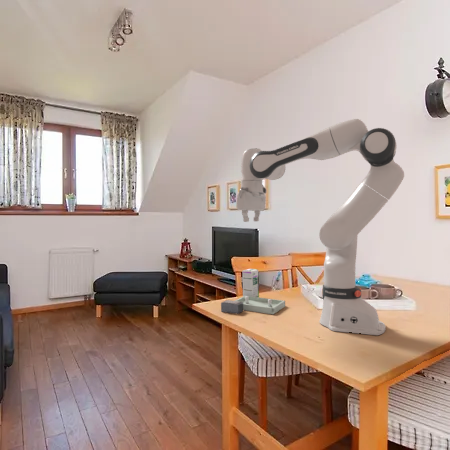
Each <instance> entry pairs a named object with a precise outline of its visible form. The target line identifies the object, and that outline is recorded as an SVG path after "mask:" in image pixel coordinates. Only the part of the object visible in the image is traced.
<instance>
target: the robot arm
mask: <svg viewBox="0 0 450 450" xmlns="http://www.w3.org/2000/svg"><path fill="white" fill-rule="evenodd" d="M354 151H357V152H359V153H360V154H361V156H362V158H364V160H365V161H366V162H367V163H369V164H370V168H369V171H368V173H367V175H365V177H364V178H363V179H362V180H361V181H360V183H359V184H358V186H357V187H356V188H355V189H354V191H353V192H352V193H351V194H350V195H349V196H348V197H347V199H345V201H344V202H343V203H342V204H341V205H340V206H339V207H338V208H337V209H336V210H335V211H334V213H332V215H331V216H330V217H329V218H328V219H327V220H326V221H325V223H323V224H322V226H321V227H320V230H319V239H320V242H321V243H322V244H323V246H324V247H326V251H325V258H324V262H323V285H322V287H321V288H322V300H323V301H322V308H321V314H320V318H319V320H318V321H319V323H320V325H322V326H324V327H326V328H328V329H329V330H330V331H333V332H341V333H349V332H352V333H351V334H359V333H361V335H369V336H370V335H371V336H379V335H382V334H384V333H385V332H386V329H387V326H386V324H385V323H384V322H383V321H381V320H380V319H379V313H378V311H377V310H376V308H375V307H374V306H373V305H372V304H370V303H369V302H367V301H366V300H365V298H364V299H363V298H362V288H361V287H360V288H359V287H358V286H356V263H357V262H356V261H357V250H358V235H359V234H360V232H362V231H363V230H364V229H365V227H367V226H368V224H369V223H370V222H371V221H372V220H373V219H374V218H375V217H376V216H377V214H379V212H380V211H381V210H382V208H383V207H384V206H385V205H386V203H388V202H389V200H390V199H391V198H392V196H393V195H394V194H395V193H396V191H397V190H398V189H399V187H400V185H401V184H402V182H403V180H404V178H405V172H404V170H403V168H402V166H400V165H399V164H398V163H396V162H395V161H394V158H395V155H396V152H397V141H396V137H395V135H394V134H393V133H392V132H391V131H390V130H388V129H386V128H384V127H383V128H382V127H376V128H373V129H372V128H371V129H370V130H368V128H367V126H366V123H365V122H363V121H362V119H359V118H353V119H348V120H344V121H342V122H339V123H336V124H333V125H331V126H329V127H327V128H325V129H323V130H320V131H318V132H316V133H314V134H312V135H310V136H307V137H305V138H303V139H301V140H297V141H295V142H293V143H290V144H287V145H284V146H282V147H279V148H276V149H273V150H261V148H249V149H246V150H245V151H244V152H243V153H242V157H241V165H240V167H241V168H240V170H241V171H240V172H241V179H240V189H239V190H238V193H237V196H236V209H237V211H241V214H242V220H243V222H245V223H249V221H250V217H249V211H254V216H253V222H259V221H260V219H259V218H260V215H261V211H262V212H263V211H265V209H266V202H267V201H266V194H267V188H266V187H265V186H264V185H263V179H265V180H270V181H276V180H279V179H281V178H282V177H283V176H284V174H285V172H286V165H288V164H291V163H293V162H296V161H300V160H304V159H309V160H310V159H311V160H318V161H325V160H330V159H334V158H336V157H340V156H342V155H344V154H347V153H350V152H354Z"/></svg>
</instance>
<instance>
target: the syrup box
mask: <svg viewBox="0 0 450 450" xmlns="http://www.w3.org/2000/svg"><path fill="white" fill-rule="evenodd" d="M241 274H242V297H244V296H252V297H260V290H259V289H260V287H259V286H260V285H259V269H256V268H248V269H244V270H242V273H241Z"/></svg>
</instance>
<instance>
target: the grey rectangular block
mask: <svg viewBox="0 0 450 450" xmlns="http://www.w3.org/2000/svg"><path fill="white" fill-rule="evenodd" d="M220 312H222V313H226V314H227V313H229V314H234V315H239V314H241V313H243V312H244V310H243V302H239V301H235V300H230V299H226V300H223V301H222V302H221V303H220Z"/></svg>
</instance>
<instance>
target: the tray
mask: <svg viewBox="0 0 450 450" xmlns="http://www.w3.org/2000/svg"><path fill="white" fill-rule="evenodd" d="M234 301H239V302H243V311H246V312H255V313H261V314H268V315H274V314H277V312H279V311H280V310H282V309H284V308H285V307H286V300H282V299H276V298H268V297H260V296H259V297H252V296H244V297H243V296H242V297H239V298H238V299H235V300H234Z"/></svg>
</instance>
